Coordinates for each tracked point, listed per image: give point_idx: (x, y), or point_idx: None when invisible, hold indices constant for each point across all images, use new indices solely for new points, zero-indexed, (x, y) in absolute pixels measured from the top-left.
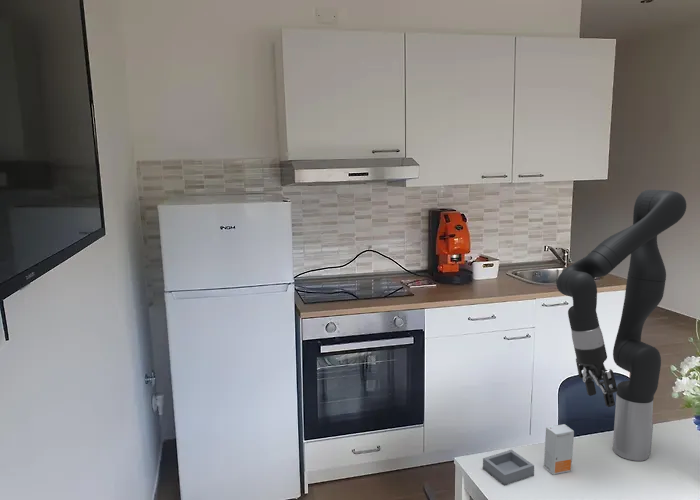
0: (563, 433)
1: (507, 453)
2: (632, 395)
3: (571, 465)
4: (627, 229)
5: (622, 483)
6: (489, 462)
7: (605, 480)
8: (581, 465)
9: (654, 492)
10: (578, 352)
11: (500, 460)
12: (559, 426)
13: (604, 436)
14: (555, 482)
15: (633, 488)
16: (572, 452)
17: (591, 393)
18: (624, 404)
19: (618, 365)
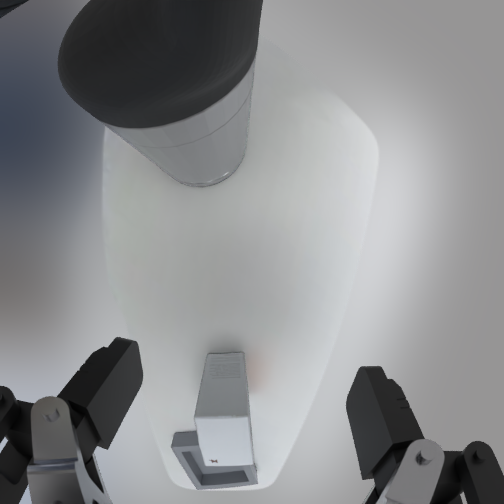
0: (252, 445)
1: (184, 458)
2: (223, 80)
3: (244, 359)
4: None
5: (318, 264)
6: (212, 488)
7: (297, 296)
8: (224, 313)
9: (362, 216)
10: None
11: (192, 461)
12: (209, 438)
13: (116, 160)
14: (272, 401)
15: (340, 252)
16: (245, 377)
17: (136, 375)
18: (186, 131)
19: None
